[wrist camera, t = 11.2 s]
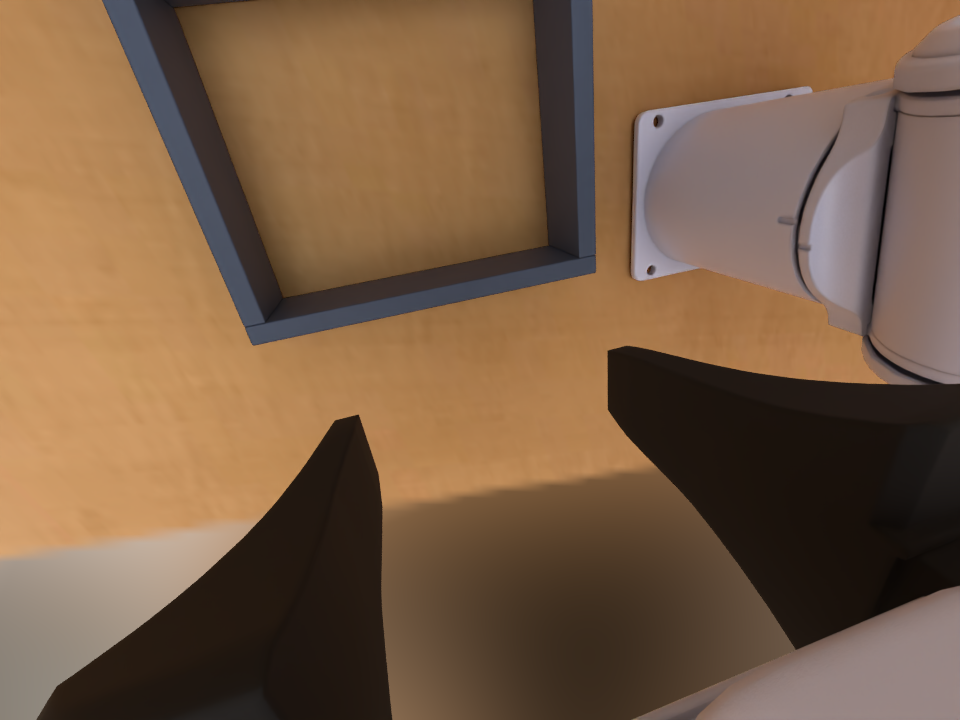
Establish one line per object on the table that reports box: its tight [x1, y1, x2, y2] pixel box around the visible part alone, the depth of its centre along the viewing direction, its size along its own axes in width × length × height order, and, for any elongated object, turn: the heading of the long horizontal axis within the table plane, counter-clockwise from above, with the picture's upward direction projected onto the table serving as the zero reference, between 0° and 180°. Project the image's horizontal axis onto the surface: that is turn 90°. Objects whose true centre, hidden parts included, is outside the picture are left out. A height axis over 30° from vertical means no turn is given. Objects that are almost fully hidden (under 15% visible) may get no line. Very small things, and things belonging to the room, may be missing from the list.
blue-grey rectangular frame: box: [102, 0, 596, 345], centre depth 16 cm, size 15×12×4 cm
